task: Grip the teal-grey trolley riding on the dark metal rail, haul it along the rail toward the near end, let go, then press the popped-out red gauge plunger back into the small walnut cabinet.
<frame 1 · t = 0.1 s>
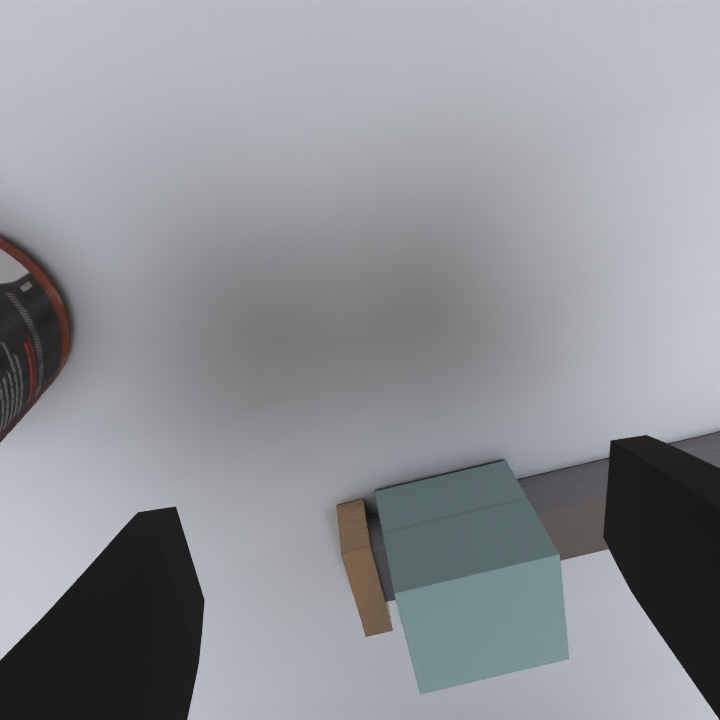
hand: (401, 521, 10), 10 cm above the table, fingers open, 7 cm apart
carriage: (465, 569, 20), point 3 cm above the table, slide at 0.0 cm
rail: (560, 495, 22), on the table
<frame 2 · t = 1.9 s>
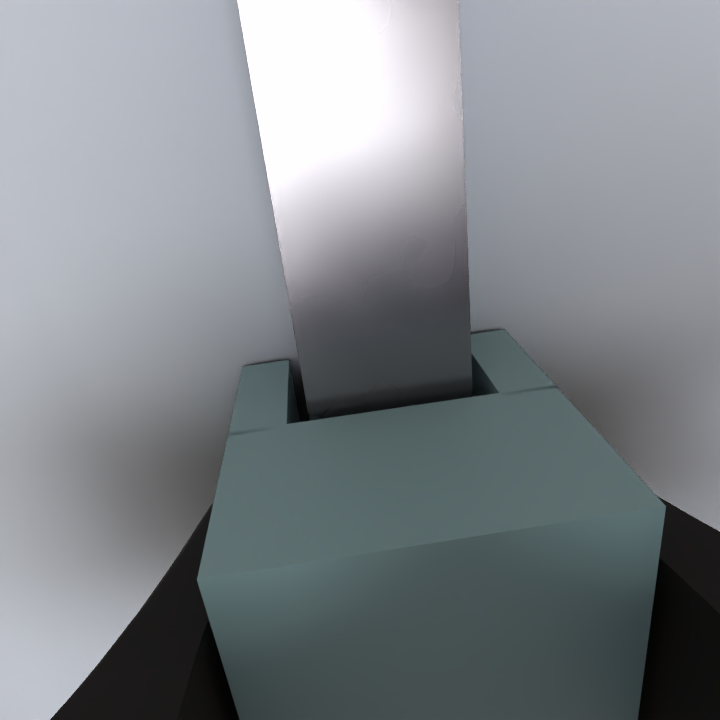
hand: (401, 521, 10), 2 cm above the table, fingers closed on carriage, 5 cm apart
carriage: (410, 558, 9), point 3 cm above the table, slide at 0.0 cm, touching gripper
rail: (361, 231, 9), on the table
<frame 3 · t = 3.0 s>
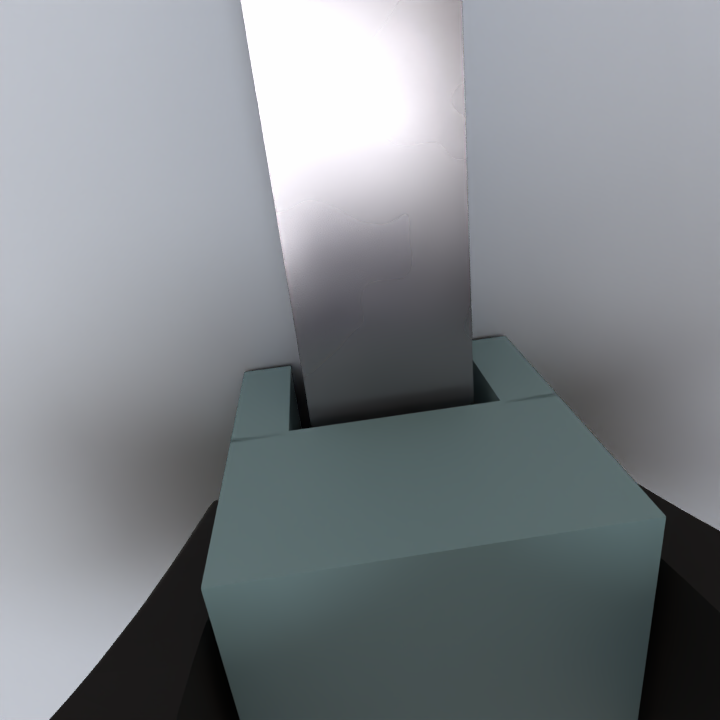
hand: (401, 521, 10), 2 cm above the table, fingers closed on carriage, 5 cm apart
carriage: (411, 564, 9), point 3 cm above the table, slide at 2.7 cm, touching gripper
rail: (379, 388, 10), on the table
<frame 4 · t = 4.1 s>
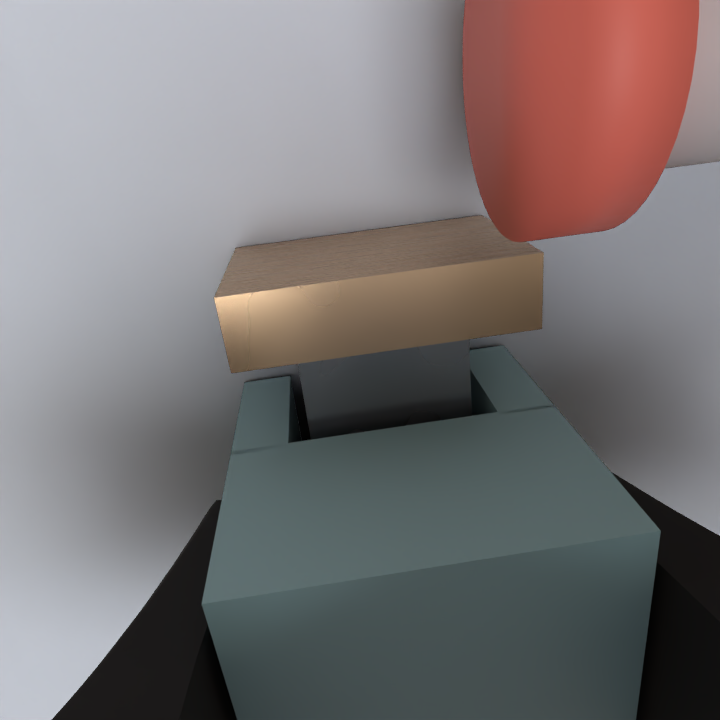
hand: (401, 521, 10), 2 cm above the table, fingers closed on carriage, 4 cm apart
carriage: (410, 573, 9), point 3 cm above the table, slide at 8.2 cm, touching gripper
rail: (402, 613, 13), on the table
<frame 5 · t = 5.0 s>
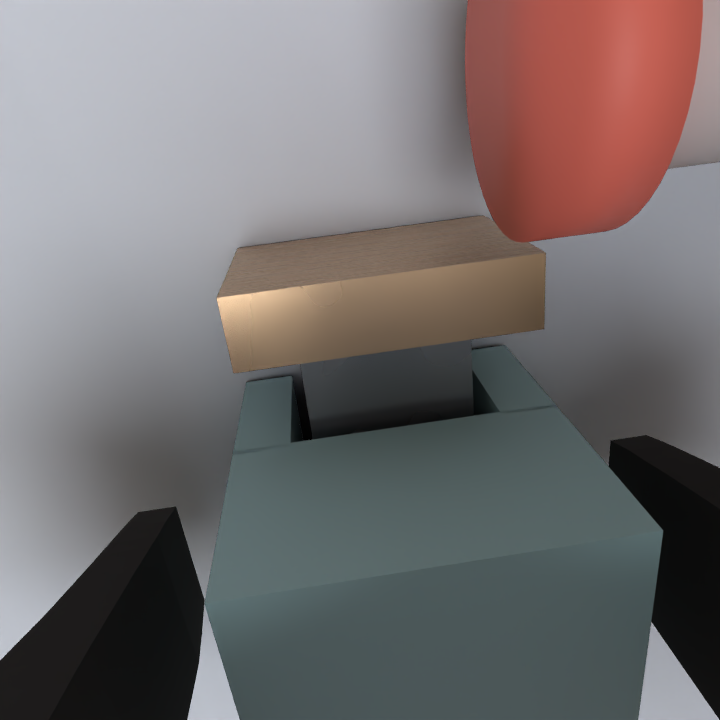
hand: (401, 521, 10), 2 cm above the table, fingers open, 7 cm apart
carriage: (412, 573, 9), point 3 cm above the table, slide at 8.2 cm
rail: (404, 613, 13), on the table
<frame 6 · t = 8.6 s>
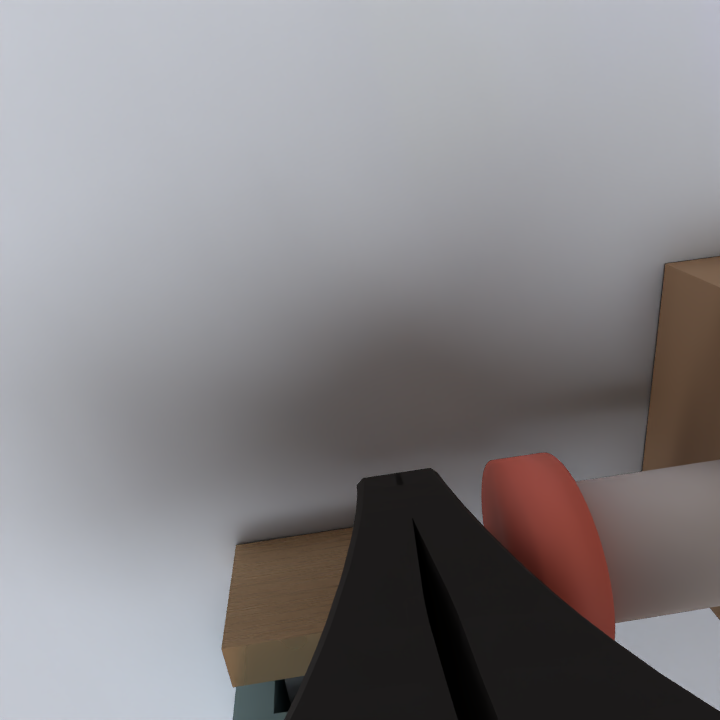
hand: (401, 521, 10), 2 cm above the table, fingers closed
plunger: (668, 537, 9), point 4 cm above the table, slide at 1.6 cm, touching gripper
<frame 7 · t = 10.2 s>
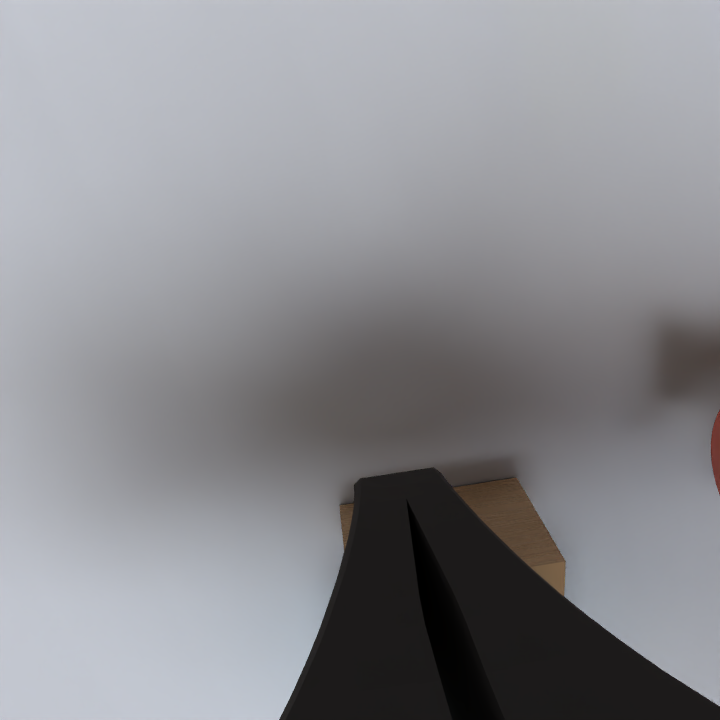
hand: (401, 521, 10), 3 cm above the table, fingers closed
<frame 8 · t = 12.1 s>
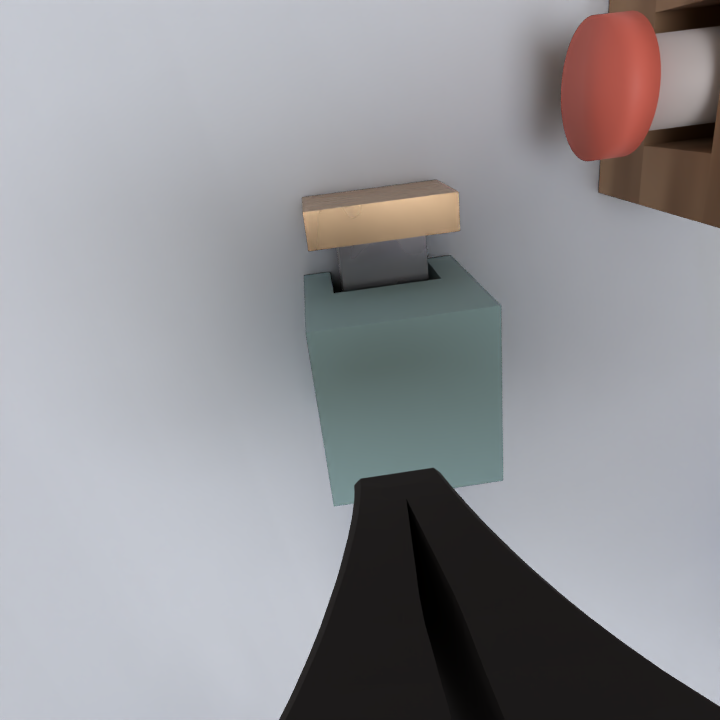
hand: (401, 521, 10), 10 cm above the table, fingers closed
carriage: (396, 371, 17), point 3 cm above the table, slide at 8.2 cm
plunger: (690, 78, 13), point 4 cm above the table, slide at 3.6 cm
cabinet: (672, 76, 17), on the table
rail: (394, 434, 21), on the table
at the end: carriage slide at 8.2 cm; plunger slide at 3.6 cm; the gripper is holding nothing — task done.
